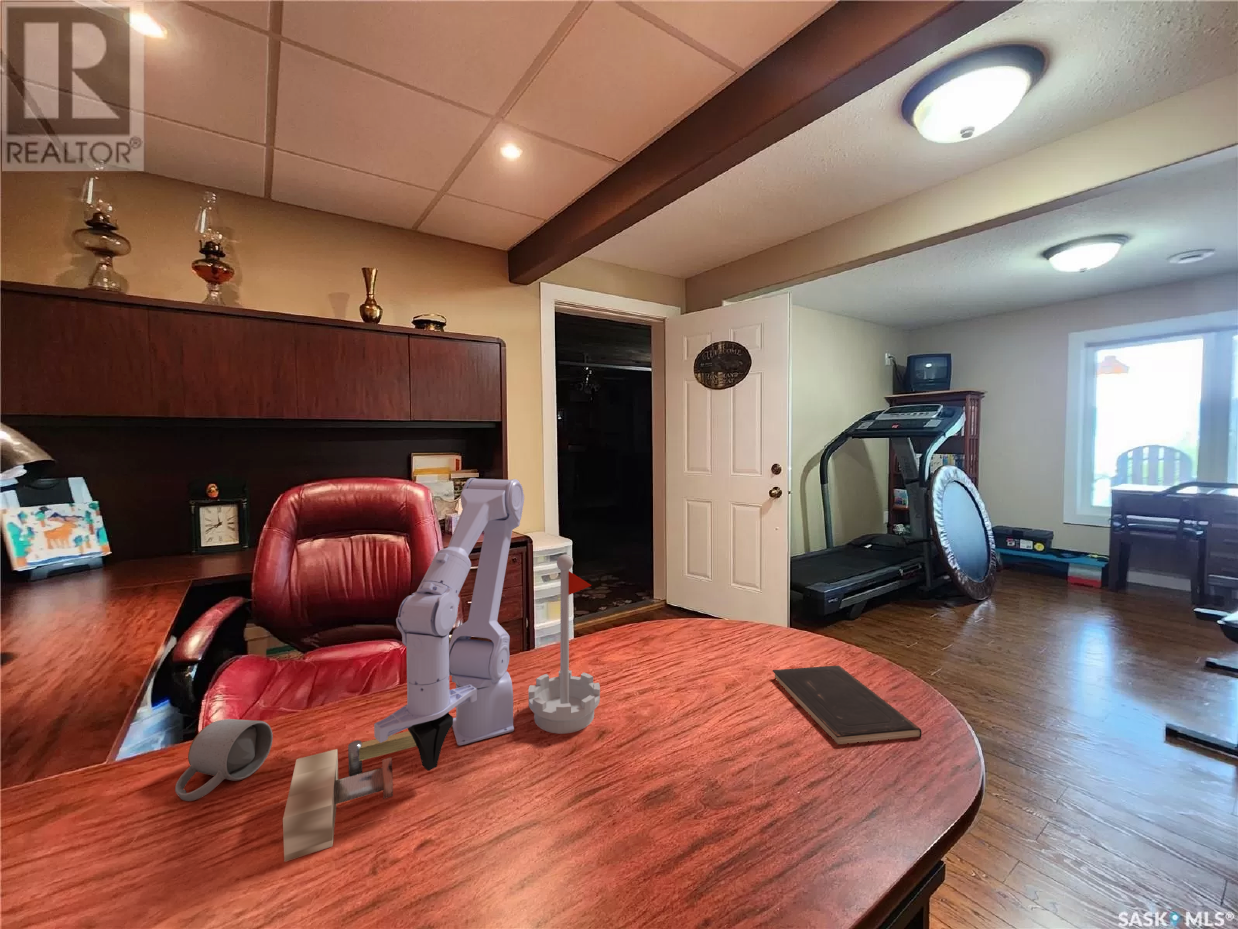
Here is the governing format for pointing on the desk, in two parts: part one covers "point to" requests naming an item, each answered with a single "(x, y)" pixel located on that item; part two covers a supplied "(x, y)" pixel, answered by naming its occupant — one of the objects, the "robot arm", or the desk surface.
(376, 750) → the bar
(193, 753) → the ceramic mug
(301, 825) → the hitch block
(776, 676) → the hardcover book
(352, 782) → the pin
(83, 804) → the desk surface
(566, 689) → the flag stand
